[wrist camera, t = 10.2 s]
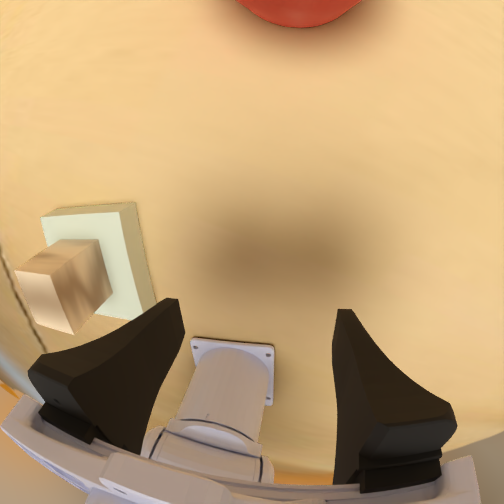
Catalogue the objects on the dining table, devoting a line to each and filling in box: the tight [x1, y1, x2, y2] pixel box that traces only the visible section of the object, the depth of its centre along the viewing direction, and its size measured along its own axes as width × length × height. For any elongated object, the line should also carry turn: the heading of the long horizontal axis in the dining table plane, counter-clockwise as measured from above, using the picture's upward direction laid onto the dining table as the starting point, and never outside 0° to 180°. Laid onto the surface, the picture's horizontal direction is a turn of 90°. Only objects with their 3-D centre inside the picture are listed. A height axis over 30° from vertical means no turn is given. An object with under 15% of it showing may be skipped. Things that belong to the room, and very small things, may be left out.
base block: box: [40, 202, 157, 320], centre depth 23 cm, size 10×10×3 cm
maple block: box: [14, 239, 113, 335], centre depth 19 cm, size 5×5×6 cm
